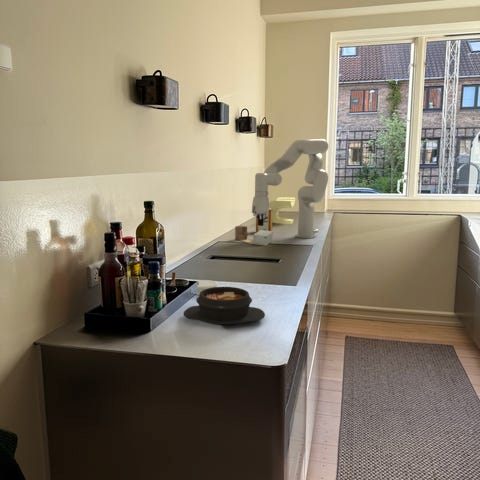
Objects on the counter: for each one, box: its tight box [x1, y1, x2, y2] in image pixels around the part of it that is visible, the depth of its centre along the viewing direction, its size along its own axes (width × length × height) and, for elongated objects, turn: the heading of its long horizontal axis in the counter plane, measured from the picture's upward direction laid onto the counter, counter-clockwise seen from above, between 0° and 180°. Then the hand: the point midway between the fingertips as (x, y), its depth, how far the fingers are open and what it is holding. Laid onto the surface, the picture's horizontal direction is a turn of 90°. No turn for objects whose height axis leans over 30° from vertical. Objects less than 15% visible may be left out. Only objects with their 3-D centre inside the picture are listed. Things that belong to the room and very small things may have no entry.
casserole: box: [182, 286, 266, 326], centre depth 142 cm, size 25×19×8 cm
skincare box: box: [252, 230, 274, 247], centre depth 267 cm, size 8×6×15 cm
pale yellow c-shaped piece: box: [269, 196, 296, 225], centre depth 352 cm, size 30×16×18 cm, turn 167°
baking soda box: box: [255, 208, 273, 233], centre depth 304 cm, size 10×6×16 cm
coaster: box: [196, 279, 218, 296], centre depth 170 cm, size 10×10×4 cm
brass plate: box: [238, 238, 254, 245], centre depth 272 cm, size 12×12×1 cm
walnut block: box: [234, 225, 248, 241], centre depth 277 cm, size 5×5×8 cm
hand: (260, 225), depth 273 cm, fingers closed
